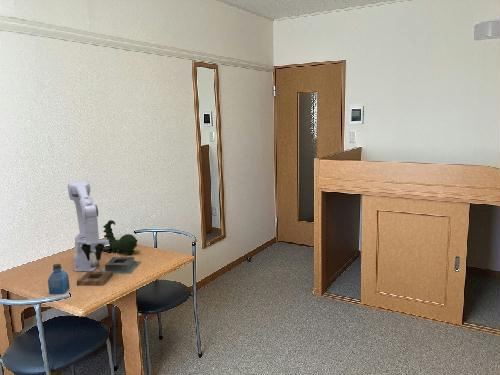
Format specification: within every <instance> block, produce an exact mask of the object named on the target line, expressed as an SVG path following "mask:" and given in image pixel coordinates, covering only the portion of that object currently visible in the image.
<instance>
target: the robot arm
mask: <svg viewBox="0 0 500 375" xmlns="http://www.w3.org/2000/svg"><path fill="white" fill-rule="evenodd" d="M67 192H68V197H69V200H71V201H73V203H74V205H75V211H76V217H77V224H78V230H79V233H78V234H76V236H74V248H75V253H74V254H73V262H74V270H73V271H74V272H88V271H95V270H96V269H97V268H98V267H90V260H89V251H91V250H96V253H97V260H99V261H100V260H101V259H102V258H101V257H102V254H103V251H104V250H103V249H104V247H105V246H109V240H107V239H101V238H100V236H99V235H100V234H99V233H100V232H99V223H98V218H99V207H98V206H97V204H96V203H94V200H93V198H92V197H91V196H90V194H91V184H90V181H89V180H82V181H69V182H68V183H67Z"/></svg>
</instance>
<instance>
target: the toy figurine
mask: <svg viewBox="0 0 500 375" xmlns="http://www.w3.org/2000/svg"><path fill="white" fill-rule="evenodd" d="M112 224H113V225H114V226H115V225H116V222H115V220H111V219H110V220H107V223H105V224H104V225H103V226H102V227H103V228H104V230H103V233H105V234H104V236H103V237H104V238H106V240H109V244H108V247H107V248H108V250H109V249H111V250H112V253H118V254H121V253H122V252H126V254H127V255H128V256H129V255H133V254H134V253H135V249H136V248H137V246H138V240H137V239H136V237H135V236H134V235H132V234H130V233H128V234H124V235H122V236H120V238H119V239H116V237H115V236H114V233H113V229H112Z"/></svg>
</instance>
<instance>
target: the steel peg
mask: <svg viewBox="0 0 500 375" xmlns="http://www.w3.org/2000/svg"><path fill="white" fill-rule="evenodd" d="M89 260H90V267H97V268H98V267H99V266H100V260H97V253H96V249H95V250H91V251H89Z"/></svg>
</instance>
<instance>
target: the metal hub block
mask: <svg viewBox="0 0 500 375" xmlns="http://www.w3.org/2000/svg"><path fill="white" fill-rule="evenodd" d="M141 263H142V261H141V260H135V256H123V257H122V256H120V257H119V256H115V257H112V258H111V259H109V261H108V262H106V263H105V264H104V267H103V268H102V269H101V270H100V271H113V275H116V274H117V275H130V274H132V273H133V272H134V271H135V270H136V268H138V266H140V264H141Z"/></svg>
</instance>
